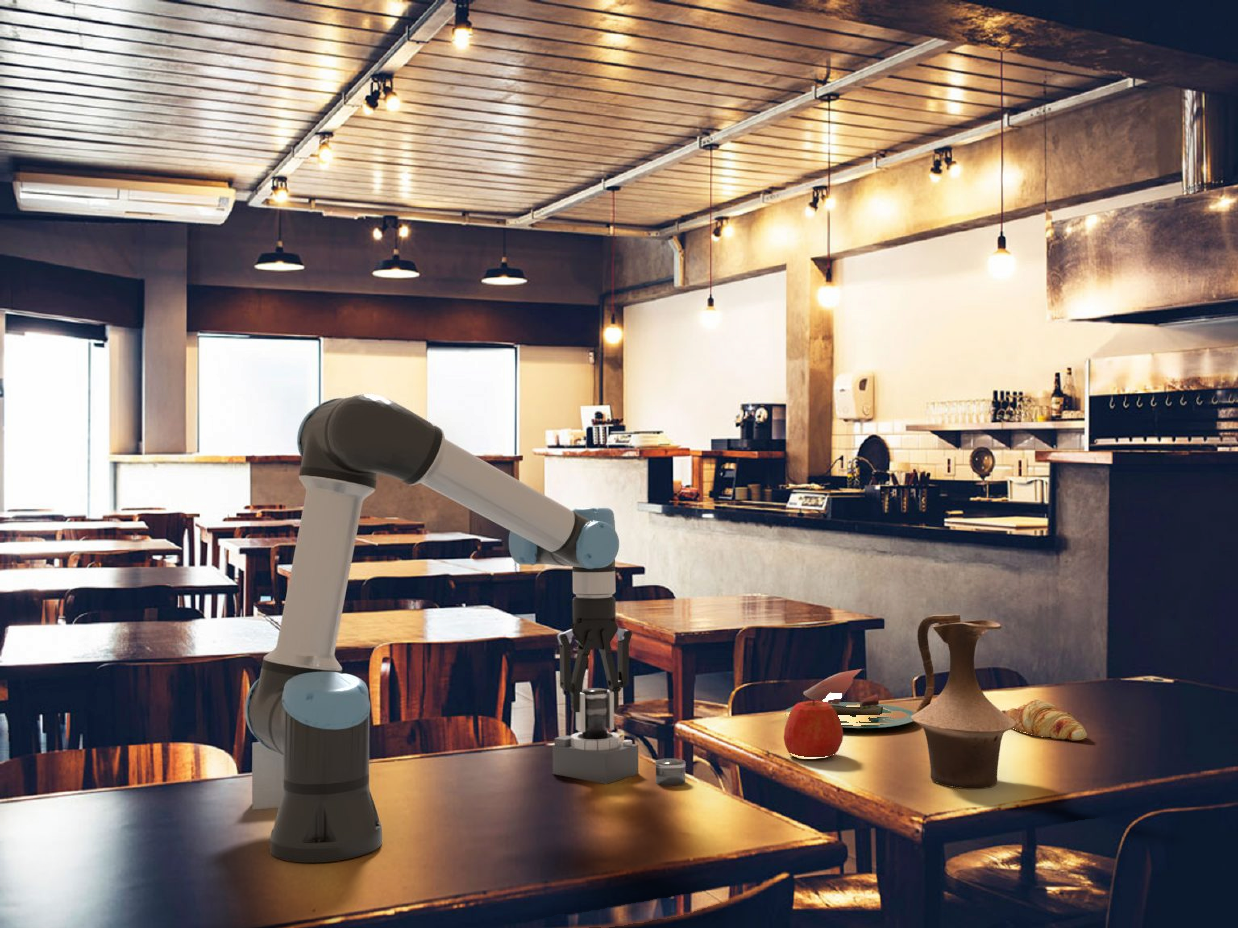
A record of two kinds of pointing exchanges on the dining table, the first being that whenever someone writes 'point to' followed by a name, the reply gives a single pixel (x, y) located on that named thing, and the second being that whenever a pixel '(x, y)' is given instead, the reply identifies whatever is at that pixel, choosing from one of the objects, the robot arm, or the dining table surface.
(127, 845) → the dining table surface
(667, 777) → the cylinder
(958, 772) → the pitcher
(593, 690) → the lens
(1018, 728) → the croissant
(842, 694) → the plate
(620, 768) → the camera body
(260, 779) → the light grey rectangular block
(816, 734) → the apple
